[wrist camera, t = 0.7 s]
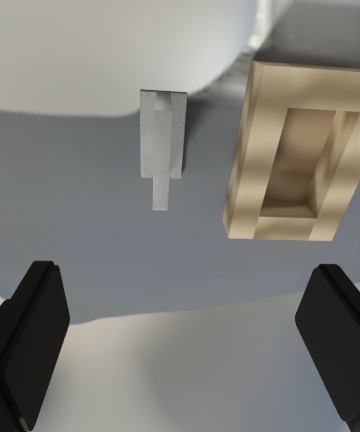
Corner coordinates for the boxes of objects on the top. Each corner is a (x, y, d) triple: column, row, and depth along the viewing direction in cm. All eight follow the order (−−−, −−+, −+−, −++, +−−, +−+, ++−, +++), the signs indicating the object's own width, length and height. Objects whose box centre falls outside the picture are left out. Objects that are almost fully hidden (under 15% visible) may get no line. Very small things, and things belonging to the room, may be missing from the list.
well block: (251, 60, 29) (264, 65, 25) (378, 69, 30) (408, 75, 26) (222, 218, 40) (228, 238, 37) (316, 221, 41) (331, 240, 38)
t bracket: (140, 89, 30) (133, 108, 23) (186, 92, 31) (192, 111, 24) (141, 173, 36) (135, 209, 29) (180, 175, 36) (184, 210, 29)
